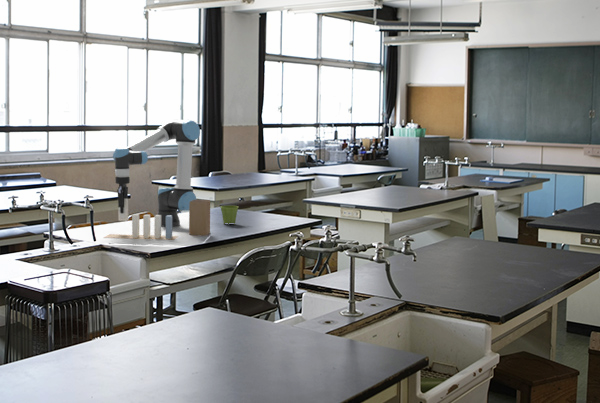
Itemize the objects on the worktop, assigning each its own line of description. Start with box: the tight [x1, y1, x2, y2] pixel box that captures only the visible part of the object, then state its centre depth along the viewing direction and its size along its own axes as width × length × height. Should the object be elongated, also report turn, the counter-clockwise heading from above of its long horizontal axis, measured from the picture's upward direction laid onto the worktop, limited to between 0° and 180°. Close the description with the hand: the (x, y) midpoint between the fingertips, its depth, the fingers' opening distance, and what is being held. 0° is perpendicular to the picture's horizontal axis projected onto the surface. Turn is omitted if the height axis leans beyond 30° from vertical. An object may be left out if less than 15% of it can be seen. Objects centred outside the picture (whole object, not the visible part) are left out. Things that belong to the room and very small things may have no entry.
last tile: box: [165, 215, 173, 239], centre depth 366 cm, size 5×3×12 cm, turn 179°
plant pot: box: [219, 205, 239, 224], centre depth 427 cm, size 12×12×11 cm
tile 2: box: [131, 213, 140, 238], centre depth 366 cm, size 5×3×12 cm, turn 179°
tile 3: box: [142, 214, 151, 238], centre depth 366 cm, size 5×3×12 cm, turn 179°
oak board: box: [103, 233, 179, 241], centre depth 367 cm, size 12×38×1 cm, turn 89°
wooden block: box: [188, 199, 211, 237], centre depth 381 cm, size 10×10×20 cm
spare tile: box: [117, 198, 129, 222], centre depth 376 cm, size 5×3×12 cm, turn 89°
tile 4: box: [153, 214, 162, 238], centre depth 366 cm, size 5×3×12 cm, turn 179°
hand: (123, 218), depth 377 cm, fingers closed on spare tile, 3 cm apart
